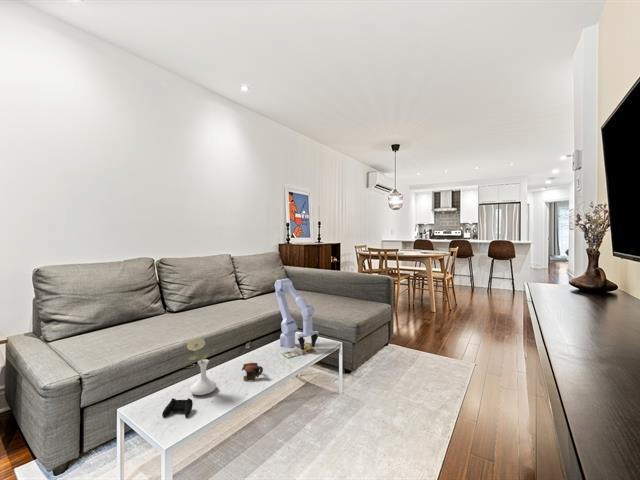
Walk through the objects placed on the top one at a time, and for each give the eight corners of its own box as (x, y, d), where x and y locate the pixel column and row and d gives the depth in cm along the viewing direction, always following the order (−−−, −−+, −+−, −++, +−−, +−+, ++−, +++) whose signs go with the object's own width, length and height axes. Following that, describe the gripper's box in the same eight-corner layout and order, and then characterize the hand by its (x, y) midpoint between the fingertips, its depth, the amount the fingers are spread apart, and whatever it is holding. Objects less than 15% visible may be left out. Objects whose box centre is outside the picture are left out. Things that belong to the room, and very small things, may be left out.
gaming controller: (191, 419, 123) (196, 400, 127) (188, 416, 119) (193, 397, 124) (164, 419, 122) (170, 400, 127) (160, 416, 119) (166, 396, 124)
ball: (303, 351, 186) (303, 345, 185) (304, 349, 190) (304, 342, 189) (310, 352, 185) (310, 345, 185) (311, 349, 189) (311, 343, 189)
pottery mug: (237, 382, 150) (238, 364, 154) (247, 382, 158) (247, 365, 162) (259, 378, 147) (259, 360, 151) (268, 379, 155) (268, 362, 159)
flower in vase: (218, 384, 147) (218, 332, 146) (214, 396, 135) (214, 341, 135) (189, 386, 144) (189, 334, 144) (183, 399, 133) (183, 342, 133)
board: (287, 360, 175) (287, 354, 175) (280, 355, 182) (280, 349, 182) (316, 353, 186) (316, 347, 186) (308, 348, 194) (308, 343, 194)
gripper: (300, 329, 180) (301, 352, 180) (321, 325, 188) (321, 347, 188) (295, 326, 186) (295, 348, 186) (314, 323, 194) (314, 344, 194)
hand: (307, 348), depth 187 cm, fingers open, 7 cm apart
